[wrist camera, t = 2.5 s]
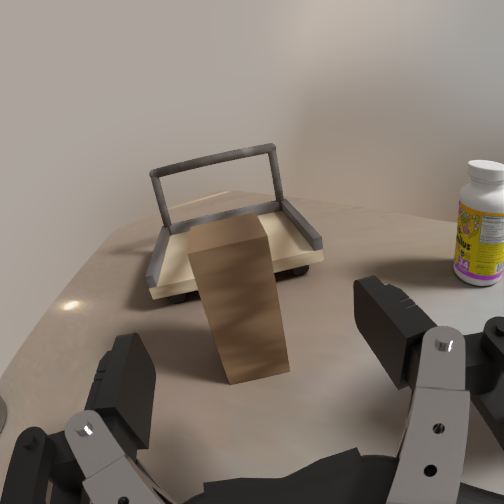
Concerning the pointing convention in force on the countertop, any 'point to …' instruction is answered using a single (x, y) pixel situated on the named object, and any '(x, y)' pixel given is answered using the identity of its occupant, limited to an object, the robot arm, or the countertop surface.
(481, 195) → the supplement bottle
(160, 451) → the countertop surface
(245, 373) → the walnut block
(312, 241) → the cart
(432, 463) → the robot arm
